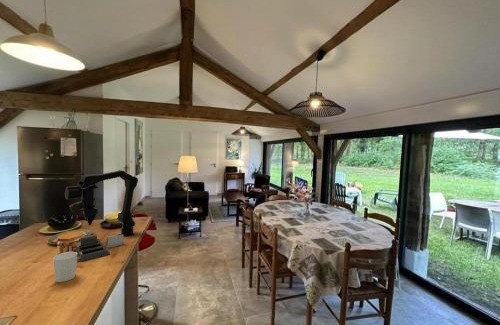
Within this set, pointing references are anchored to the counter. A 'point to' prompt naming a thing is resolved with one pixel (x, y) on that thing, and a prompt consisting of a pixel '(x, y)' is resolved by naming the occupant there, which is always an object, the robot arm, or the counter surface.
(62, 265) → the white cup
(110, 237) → the panel
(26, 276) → the counter surface
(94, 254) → the rack
